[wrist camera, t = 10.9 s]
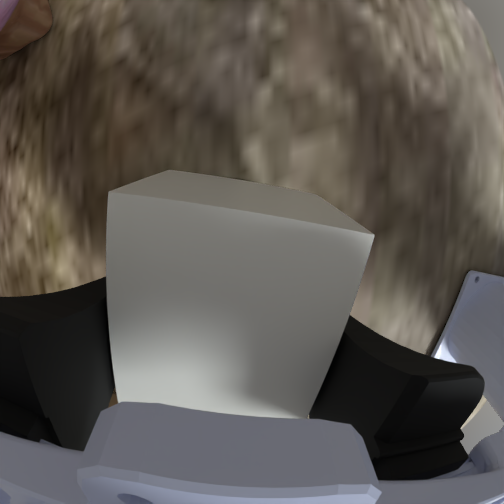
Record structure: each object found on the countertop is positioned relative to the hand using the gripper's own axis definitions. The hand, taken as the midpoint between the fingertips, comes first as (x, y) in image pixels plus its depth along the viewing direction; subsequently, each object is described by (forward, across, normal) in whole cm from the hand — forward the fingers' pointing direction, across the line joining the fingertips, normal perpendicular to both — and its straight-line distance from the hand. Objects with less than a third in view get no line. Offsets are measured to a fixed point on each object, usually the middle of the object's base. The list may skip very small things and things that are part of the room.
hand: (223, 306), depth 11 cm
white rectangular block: (+2, 0, 0) cm, 2 cm away
